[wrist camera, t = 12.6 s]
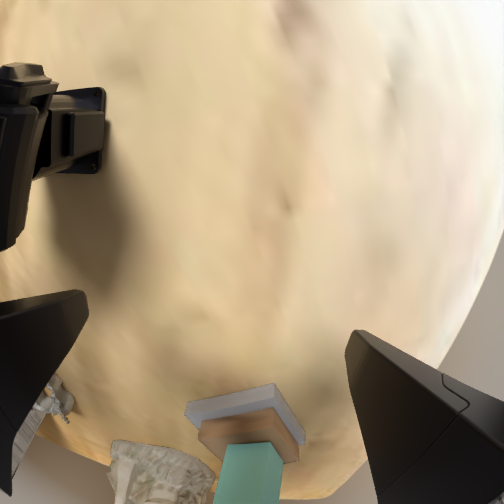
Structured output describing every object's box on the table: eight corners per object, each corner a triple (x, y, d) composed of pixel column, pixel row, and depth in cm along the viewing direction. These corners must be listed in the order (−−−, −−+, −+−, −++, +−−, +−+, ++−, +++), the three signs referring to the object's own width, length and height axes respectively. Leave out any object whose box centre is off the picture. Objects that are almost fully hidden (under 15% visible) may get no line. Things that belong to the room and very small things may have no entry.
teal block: (227, 444, 26) (203, 538, 16) (270, 442, 25) (254, 543, 15) (243, 463, 28) (225, 548, 18) (283, 461, 27) (271, 551, 17)
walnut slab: (234, 454, 31) (232, 470, 29) (201, 420, 29) (197, 439, 26) (298, 443, 30) (299, 460, 28) (273, 406, 27) (273, 427, 25)
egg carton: (83, 405, 33) (72, 427, 30) (47, 399, 34) (36, 418, 31) (44, 346, 29) (27, 368, 25) (10, 344, 30) (-6, 362, 26)
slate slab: (229, 442, 34) (228, 457, 32) (188, 398, 31) (184, 415, 28) (304, 427, 32) (305, 443, 30) (274, 378, 29) (274, 397, 26)
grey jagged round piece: (103, 432, 35) (78, 517, 22) (213, 451, 36) (205, 547, 22) (129, 469, 43) (115, 536, 29) (217, 483, 43) (212, 554, 30)
